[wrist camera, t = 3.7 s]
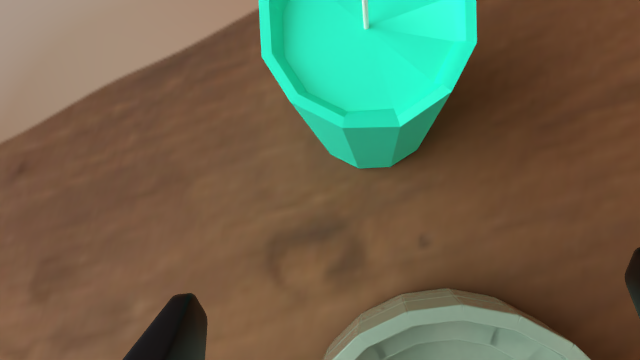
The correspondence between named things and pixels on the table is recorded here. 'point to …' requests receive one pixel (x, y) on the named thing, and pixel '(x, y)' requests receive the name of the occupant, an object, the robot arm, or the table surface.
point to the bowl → (449, 331)
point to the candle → (368, 68)
